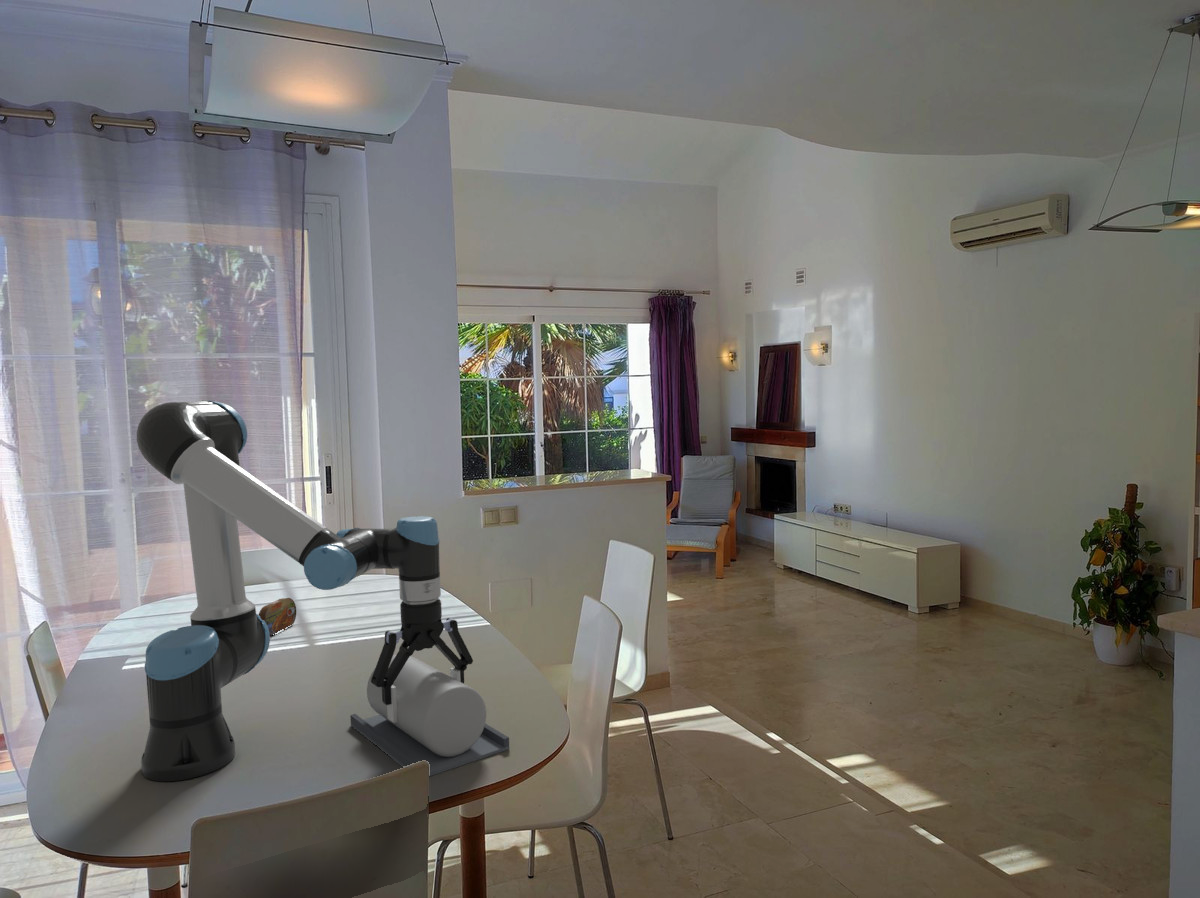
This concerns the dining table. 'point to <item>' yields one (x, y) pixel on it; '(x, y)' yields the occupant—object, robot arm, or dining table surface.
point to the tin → (279, 614)
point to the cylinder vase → (433, 708)
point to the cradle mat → (412, 751)
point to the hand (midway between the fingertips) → (425, 711)
